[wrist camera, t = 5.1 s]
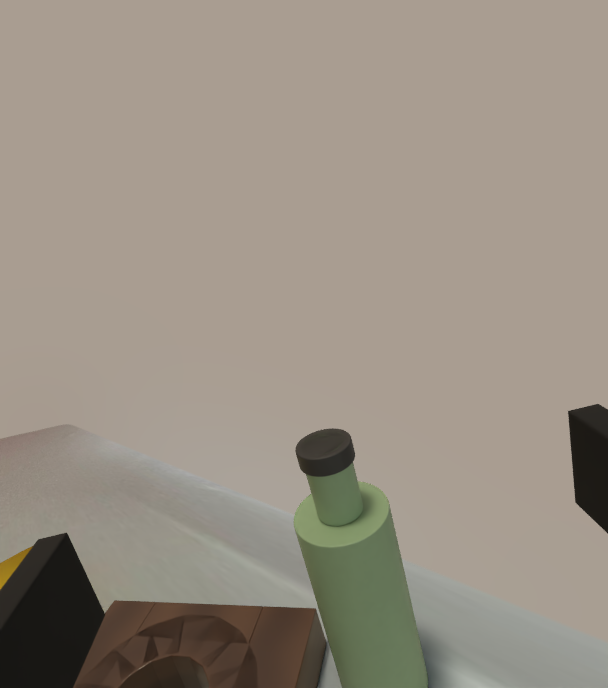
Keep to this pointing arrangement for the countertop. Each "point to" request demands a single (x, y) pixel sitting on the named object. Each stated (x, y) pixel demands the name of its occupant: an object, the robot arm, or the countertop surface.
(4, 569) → the element tile
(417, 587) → the countertop surface
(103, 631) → the hole board
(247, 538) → the countertop surface
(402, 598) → the bottle
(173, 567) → the countertop surface
